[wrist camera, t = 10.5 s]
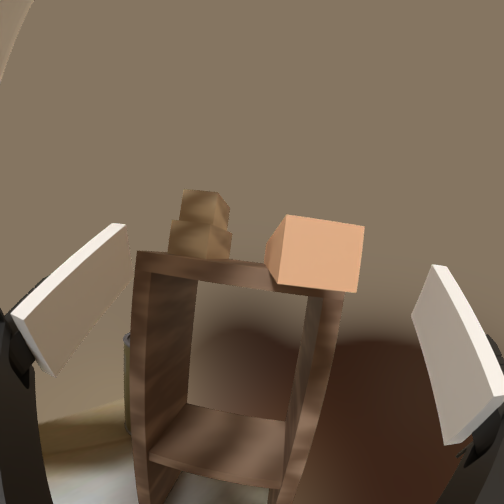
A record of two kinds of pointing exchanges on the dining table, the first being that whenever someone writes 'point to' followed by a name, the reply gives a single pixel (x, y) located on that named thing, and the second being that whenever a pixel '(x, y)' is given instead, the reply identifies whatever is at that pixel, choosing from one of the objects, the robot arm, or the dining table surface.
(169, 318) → the rack
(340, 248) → the batten
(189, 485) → the dining table surface
